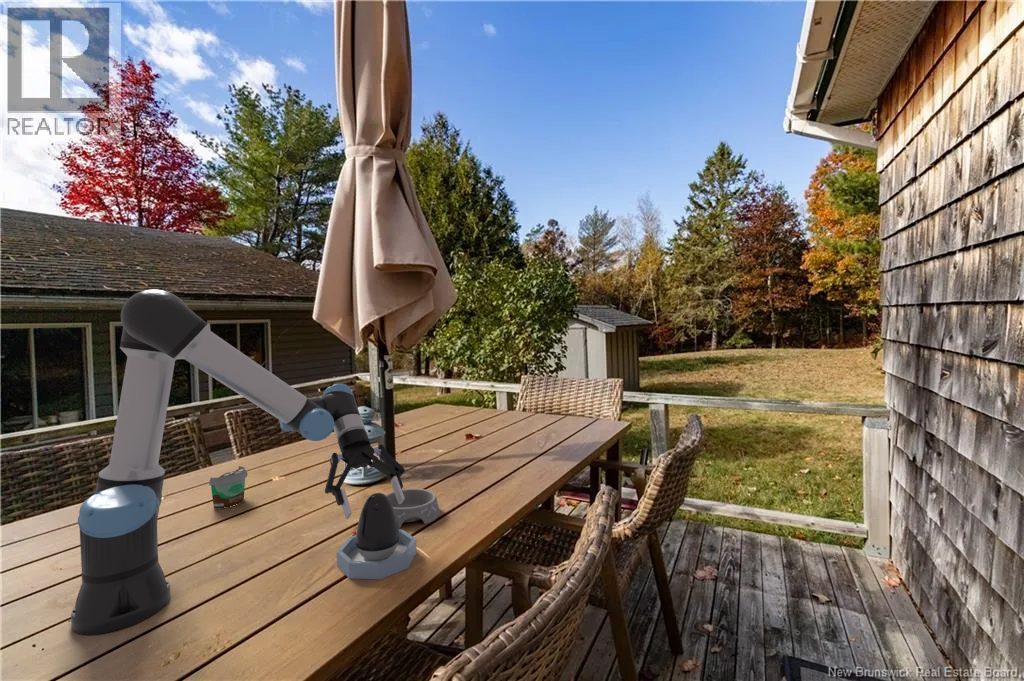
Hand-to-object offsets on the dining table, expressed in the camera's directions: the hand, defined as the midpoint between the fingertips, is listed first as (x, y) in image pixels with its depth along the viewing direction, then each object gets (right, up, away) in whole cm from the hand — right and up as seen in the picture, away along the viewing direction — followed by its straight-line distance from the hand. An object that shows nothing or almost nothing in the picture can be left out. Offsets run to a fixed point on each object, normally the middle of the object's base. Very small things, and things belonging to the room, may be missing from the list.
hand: (376, 508), depth 113 cm
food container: (-54, -11, +33) cm, 65 cm away
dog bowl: (+2, -11, +25) cm, 27 cm away
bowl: (+1, -12, -1) cm, 12 cm away
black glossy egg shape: (+1, -11, -1) cm, 11 cm away
